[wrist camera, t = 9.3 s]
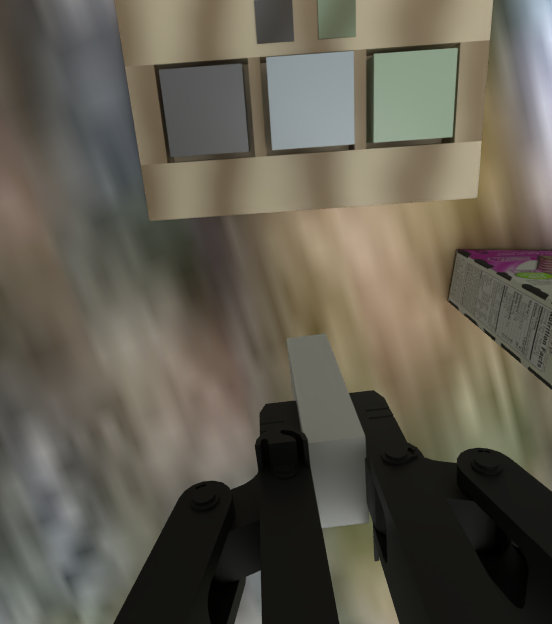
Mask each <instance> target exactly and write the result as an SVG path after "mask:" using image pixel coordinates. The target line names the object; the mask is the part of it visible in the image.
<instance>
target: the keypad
mask: <svg viewBox="0 0 552 624" xmlns="http://www.w3.org/2000/svg"><path fill="white" fill-rule="evenodd" d="M114 1H115V7H116V13H117V20H118V26H119V32H120V38H121V45H122V51H123V57H124V63H125V70H126V76H127V82H128V88H129V95H130V101H131V107H132V114H133V120H134V126H135V132H136V139H137V145H138V151H139V157H140V164H141V170H142V176H143V183H144V189H145V195H146V201H147V208H148V214H149V220H150V221H155V220H169V219H183V218H198V217H212V216H226V215H240V214H255V213H269V212H283V211H297V210H312V209H326V208H340V207H354V206H369V205H383V204H397V203H412V202H426V201H440V200H454V199H469V198H477V193H478V180H479V168H480V155H481V143H482V130H483V118H484V105H485V93H486V81H487V68H488V56H489V43H490V31H491V18H492V6H493V0H114ZM448 48H458V52H457V69H456V86H455V102H454V119H453V136H452V137H447V138H432V139H418V140H404V141H390V142H376V143H366V61H367V60H368V59H369V58H370V57H371V56H372V55H373V54H379V53H393V52H407V51H421V50H434V49H448ZM345 51H354V138H355V144H351V145H337V146H323V147H309V148H295V149H281V150H272V144H271V129H270V113H269V98H268V83H267V68H266V57H277V56H290V55H304V54H318V53H332V52H345ZM229 64H242V66H243V69H244V79H245V92H246V104H247V116H248V128H249V141H250V151H249V152H236V153H222V154H208V155H194V156H180V157H171V156H170V148H169V141H168V134H167V126H166V119H165V112H164V105H163V97H162V90H161V83H160V76H159V70H160V69H174V68H187V67H201V66H215V65H229Z"/></svg>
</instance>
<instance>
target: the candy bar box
mask: <svg viewBox="0 0 552 624" xmlns="http://www.w3.org/2000/svg"><path fill="white" fill-rule="evenodd" d="M448 302H449V303H451V304H452V305H453V306H454V307H455V308H456V309H458V310H459V311H460V312H461V313H462V314H463V315H464V316H466V317H467V318H468V319H469V320H470V321H472V322H473V323H474V324H475V325H477V326H478V327H479V328H480V329H481V330H482V331H483V332H484V333H486V334H487V335H488V336H490V337H491V338H492V340H494V341H495V342H496V343H497V344H499V345H500V346H501V347H502V348H503V349H505V350H506V351H507V352H508V353H509V354H510V355H512V356H513V357H514V358H515V359H516V360H518V361H519V362H520V363H521V364H522V365H523V366H525V367H526V368H527V369H528V370H529V371H530V372H532V373H533V374H534V375H535V376H536V377H537V378H538V379H540V380H541V381H542V382H543V383H545V384H546V385H547V386H548V387H549V388H550V389H552V251H536V250H460V249H458V250H456V255H455V260H454V269H453V277H452V281H451V287H450V293H449V299H448Z"/></svg>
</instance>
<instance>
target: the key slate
mask: <svg viewBox="0 0 552 624" xmlns="http://www.w3.org/2000/svg"><path fill="white" fill-rule="evenodd" d="M266 68H267V83H268V98H269V113H270V129H271V144H272V150H281V149H295V148H309V147H323V146H337V145H351V144H355V138H354V51H345V52H332V53H318V54H304V55H290V56H277V57H266Z"/></svg>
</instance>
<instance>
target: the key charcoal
mask: <svg viewBox="0 0 552 624" xmlns="http://www.w3.org/2000/svg"><path fill="white" fill-rule="evenodd" d="M159 76H160V83H161V90H162V97H163V105H164V112H165V119H166V126H167V134H168V141H169V148H170V156H171V157H180V156H194V155H208V154H222V153H236V152H249V151H250V141H249V128H248V116H247V104H246V92H245V79H244V69H243V66H242V64H229V65H215V66H201V67H187V68H174V69H160V70H159Z"/></svg>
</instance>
